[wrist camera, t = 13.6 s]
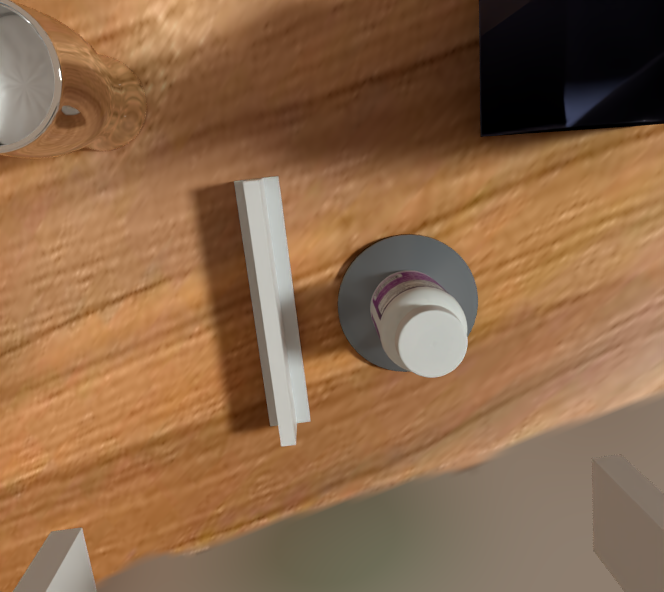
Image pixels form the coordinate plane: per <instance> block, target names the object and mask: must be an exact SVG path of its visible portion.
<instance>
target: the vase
mask: <svg viewBox="0 0 664 592" xmlns="http://www.w3.org/2000/svg"><path fill="white" fill-rule="evenodd" d="M479 40H480V125H481V137H483V136H497V135H512V134H527V133H541V132H556V131H571V130H585V129H600V128H615V127H630V126H642V125H653V124H664V0H479Z"/></svg>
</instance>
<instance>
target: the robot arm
mask: <svg viewBox="0 0 664 592" xmlns="http://www.w3.org/2000/svg"><path fill="white" fill-rule="evenodd" d="M592 482H593V483H592V485H593V545H594V546H593V547H594V548H593V549H594V552H595V553H596V555H597V556H598V557H599V559H600V560H601V561H602V563H603V564H604V565H605V567H606V568H607V569H608V571H609V572H610V573H611V574H612V576H613V577H614V578H615V580H616V581H617V582H618V584H619V585H620V586H621V587H622V589H623V590H624V592H664V493H663V492H662V491H661V490H659V489H658V488H657V487H656V486H655V485H654V484H653V483H652V482H651V481H649V479H648V478H646V477H645V476H644V475H643V474H642V473H641V472H640V471H639V470H638V469H636V468H635V467H634V466H633V465H632V464H631V463H630V462H628V460H627V459H625V458H624V457H623V456H622V455H621V454H619V455H611V456H604V457H597V458H592ZM13 592H97V590H96V585H95V581H94V577H93V573H92V568H91V564H90V560H89V556H88V551H87V547H86V543H85V538H84V534H83V530H82V528H74V529H67V530H60V531H52V532H51V533H50V534H49V536H48V537H47V539H46V541H45V542H44V544H43V545H42V547H41V548H40V550H39V552H38V553H37V555H36V556H35V558H34V559H33V561H32V563H31V564H30V566H29V567H28V569H27V570H26V572H25V574H24V575H23V577H22V578H21V580H20V581H19V583H18V585H17V586H16V588H15V589H14V591H13Z"/></svg>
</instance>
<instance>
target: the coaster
mask: <svg viewBox="0 0 664 592" xmlns="http://www.w3.org/2000/svg"><path fill="white" fill-rule="evenodd" d="M405 270H413V271H418V272H422V273H424V274H426V275H428V276H430V277H431V278H432V279H434V280H435V281H436V282H437V283H438V284H439V285H440V286H442V287H443V288H444V289H445V290H446V291H447V292H448V293H449V294H450V295H451V296H453V297H454V298H455V300H456V301H457V302H458V303H459V305H460V306H461V308H462V310H463V312H464V314H465V317H466V321H467V337H468V335H469V333H470V332H471V329H472V327H473V325H474V322H475V318H476V315H477V308H478V295H477V288H476V284H475V280H474V278H473V275H472V273H471V271H470V269H469V267H468V266H467V264H466V263H465V261H464V260H463V259H462V258H461V257H460V256H459V255H458V254H457V253H456V252H455V251H454V250H453V249H451V248H450V247H448V246H447V245H446V244H444V243H442V242H440V241H438V240H436V239H433V238H430V237H427V236H422V235H415V234H403V235H396V236H391V237H388V238H385V239H382V240H380V241H378V242H376V243H374V244H372V245H371V246H369V247H368V248H366V249H365V250H364V251H363V252H361V253H360V254H359V255H358V256H357V257H356V258H355V259H354V261H353V262H352V263H351V265H350V266H349V267H348V269H347V271H346V273H345V275H344V277H343V279H342V282H341V285H340V289H339V294H338V313H339V319H340V323H341V326H342V329H343V332H344V334H345V336H346V338H347V340H348V341H349V343H350V344H351V346H352V347H353V348H354V349H355V350H356V351H357V352H358V353H359V354H360V355H361V356H362V357H364V358H365V359H366V360H368V361H369V362H371V363H373V364H375V365H377V366H379V367H382V368H385V369H388V370H394V371H403V372H407V371H408V370H405V369H403V368H401V367H399V366H398V365H397V364H395V363H394V362H393V361H392V360H391V359H390V358H389V357H388V355H387V354H386V353H385V351H384V349H383V347H382V344H381V341H380V338H379V336H378V334H377V331H376V329H375V326H374V324H373V321H372V317H371V312H370V305H371V299H372V296H373V293H374V291H375V289H376V288H377V286H378V285H379V284H380V283H381V282H382V281H383V280H384V279H385V278H386V277H388V276H389V275H391V274H393V273H396V272H400V271H405Z"/></svg>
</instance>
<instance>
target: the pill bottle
mask: <svg viewBox="0 0 664 592" xmlns="http://www.w3.org/2000/svg"><path fill="white" fill-rule="evenodd" d="M370 312H371V317H372V321H373V324H374V326H375V329H376V331H377V334H378V336H379V338H380V341H381V344H382V347H383V349H384V351H385V353H386V354H387V355H388V357H389V358H390V359H391V360H392V361H393V362H394V363H395V364H397V365H398V366H399V367H401V368H403V369H405V370H408V371H411V372H413V373H415V374H417V375H420V376H423V377H439V376H443V375H446V374H448V373H450V372H451V371H453V370H454V369H455V368H456V367H457V366H458V365H459V364H460V363H461V361H462V360H463V358H464V356H465V353H466V350H467V342H468V341H467V321H466V317H465V314H464V312H463V310H462V308H461V306H460V305H459V303H458V302H457V301H456V300H455V298H454V297H453V296H451V295H450V294H449V293H448V292H447V291H446V290H445V289H444V288H443V287H442V286H440V285H439V284H438V283H437V282H436V281H435V280H434V279H432V278H431V277H430V276H428V275H426V274H424V273H422V272H418V271H413V270H405V271H400V272H396V273H393V274H391V275H389V276H388V277H386V278H385V279H384V280H383V281H382V282H381V283H380V284H379V285H378V286H377V288H376V289H375V291H374V293H373V296H372V299H371V305H370Z"/></svg>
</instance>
